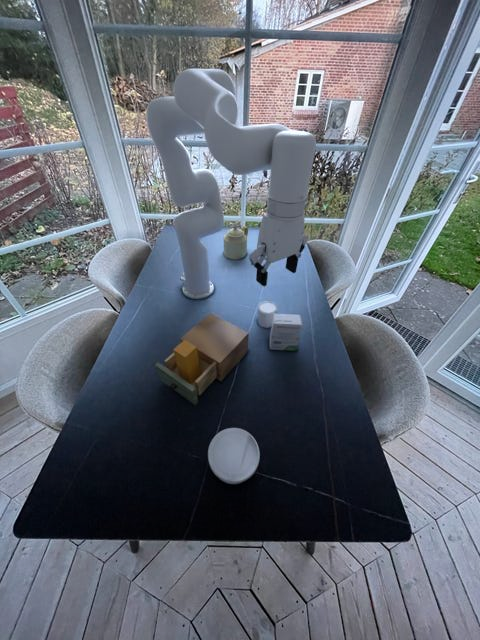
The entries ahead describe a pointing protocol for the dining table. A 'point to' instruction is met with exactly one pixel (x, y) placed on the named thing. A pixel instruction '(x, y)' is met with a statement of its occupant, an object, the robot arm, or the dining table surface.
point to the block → (187, 361)
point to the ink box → (285, 331)
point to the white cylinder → (266, 313)
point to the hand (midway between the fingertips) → (276, 276)
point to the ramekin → (233, 455)
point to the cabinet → (219, 342)
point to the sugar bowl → (236, 242)
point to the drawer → (180, 385)
